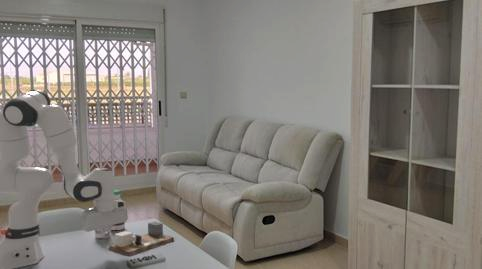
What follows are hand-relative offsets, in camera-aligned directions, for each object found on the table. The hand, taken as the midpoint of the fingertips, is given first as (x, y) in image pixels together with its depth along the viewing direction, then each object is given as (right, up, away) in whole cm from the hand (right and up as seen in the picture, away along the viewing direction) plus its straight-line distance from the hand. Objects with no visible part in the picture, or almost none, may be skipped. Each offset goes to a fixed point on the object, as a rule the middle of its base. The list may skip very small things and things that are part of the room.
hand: (106, 236), depth 199 cm
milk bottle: (-6, -5, +38) cm, 39 cm away
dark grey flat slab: (+13, -6, +8) cm, 16 cm away
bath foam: (-9, -6, +26) cm, 28 cm away
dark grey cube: (+17, -4, +23) cm, 29 cm away
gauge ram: (+7, -6, +9) cm, 12 cm away
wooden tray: (+13, -7, +13) cm, 20 cm away
